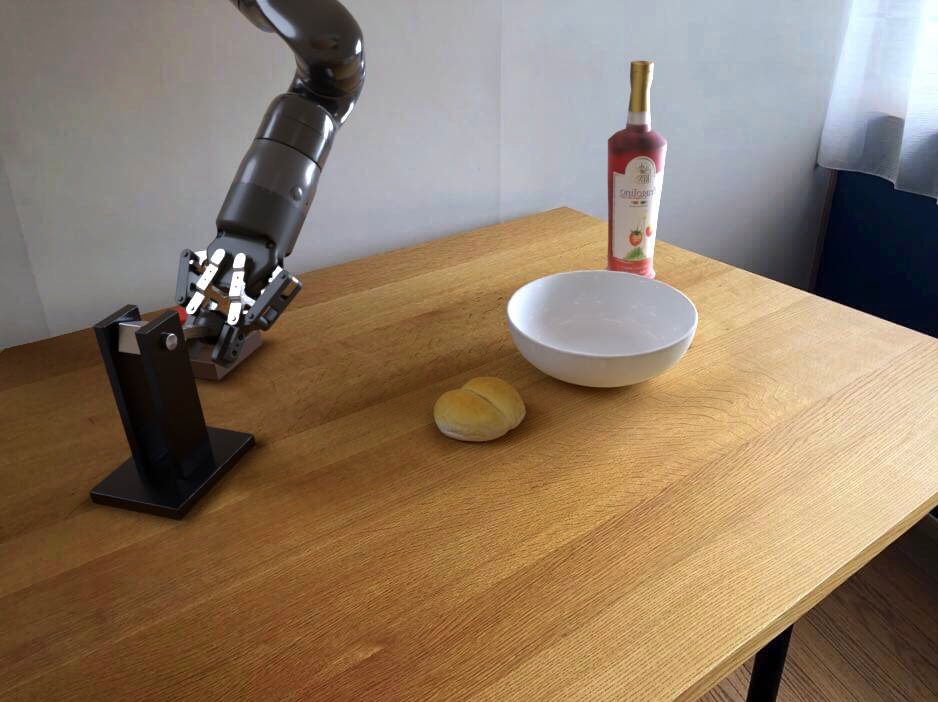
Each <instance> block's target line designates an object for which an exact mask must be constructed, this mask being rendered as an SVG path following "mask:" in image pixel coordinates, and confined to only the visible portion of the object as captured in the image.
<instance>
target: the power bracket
mask: <svg viewBox="0 0 938 702" xmlns="http://www.w3.org/2000/svg"><path fill="white" fill-rule="evenodd" d="M135 321H143V320H142V317H141V312H140V310H139V306H138V305H137V304H130V303H127V304H126V305H124V306H123V307H121V308H119V309H118V310H116V311H115V312H113V313H111V314H109V315H108V316H106V317H104V318H103V319H101V320H100V321H99V322H97V323H95V324H93V325H92V329H93V332H94V335H95V339H96V343H97V345H98V349H99V352H100V355H101V358H102V361H103V364H104V365H103V366H104V368H105V371H106V375H107V378H108V381H109V385H110V388H111V391H112V395H113V398H114V401H115V405H116V408H117V410H118V414H119V417H120V421H121V424H122V428H123V430H124V433H125V436H126V441H127V443H128V447H129V450H130V453H131V456H129V457H128V458H127V459H126V460H125V461H124V462H123V463H121V464H120V465H119V466H117V468H115V469H114V470H113V471H111V472H110V473H109V474H108V475H106V477H104V478H103V479H102V480H101V481H100V482H98V483H97V484H96V485H95V486H94V487H93V488H91V489H90V490H89V491H88V494H89V496H90V499H91V502H92V503H93V504H94V503H95V504H99V505H103V506H109V507H114V508H117V509H118V508H119V509H124V510H128V511H134V512H138V513H144V514H147V515H148V514H149V515H153V516H158V517H162V518H167V519H172V520H178V521H181V520H183V518H184V517H185V516H186V515H188V513H189V512H190V511H191V510H193V508H194V507H195V506H196V505H197V504H198V503H199V502H200V501H201V500H203V498H204V497H205V496H206V495H207V494H208V493H209V492H210V491H211V490H212V489H213V488H214V487H215V486H216V485H217V484H218V483H219V482H221V480H222V479H223V478H224V477H225V476H226V475H227V474H228V473H229V472H230V471H231V470H232V469H233V468H234V467H235V466H236V465H237V464H238V463H239V462H240V461H241V460H242V459H243V458H244V457H245V456H246V455H247V454H248V453H249V452H250V451H251V450H252V448H254V447H255V446H256V445H257V444H256V443H257V441H256V437H255V434H254V433H249V432H243V431H238V430H232V429H226V428H220V427H214V426H209V425H207V423H206V420H205V416H204V410H203V406H202V403H201V399H200V395H199V390H198V387H197V383H196V382H197V381H196V377H194V374H193V370H192V366H191V361H190V357H189V353H188V349H187V345H186V341H185V337H184V333H183V329H182V325H181V321H180V316H179V312H178V311H175V310H174V309H167V310H165V311H163V312H162V313H161V314H160V315H158V316H156V317H155V318H153V319H152V320H150V321H148V322H149V323H148V324H146V325H145V326H143V327H142V328H140V329H139V330H137V331H136V332H134V333H135V337H136V340H137V344H138V347H139V351H140V354H141V355H138V354H132V353H125V352H119V323H124V322H135Z"/></svg>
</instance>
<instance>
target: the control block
mask: <svg viewBox="0 0 938 702" xmlns="http://www.w3.org/2000/svg"><path fill="white" fill-rule="evenodd" d="M262 345H263V340H262V335H261V330H255V331H252V332H251V333H250V334H248V335H247V337H246V340H245V342H244V344H243V347H242V349H241V352H240V353H239V357H238V359H237V360H236V362H235V363H234V364H232V366H231V367H230V368H224V367H221V366H219V365H217V364H215V363H213V362H212V361H211V356H212V353H213V351H214V348H215V347H209V346H206V345H204V344H203V346H202V348H201V351H200V353H199V355H198V357H197V358H196V359H192V358H190V361H191V366H192V370H193V374H194V378H197V379H204V380H208V381H209V380H210V381H215V382H218V381H220V380H222V378H224V377H225V376H226V375H228V373H230V372H231V371H232V370H233V369H234V368H235V367H237V366H238V365H239V364H240V363H241V362H242V361H244V360H245V359H246V358H247V357H249V356H250V355H251V354H252V353H253V352H254V351H256V350H257V349H258V348H259V347H260V346H262Z"/></svg>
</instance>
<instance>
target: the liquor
mask: <svg viewBox="0 0 938 702" xmlns="http://www.w3.org/2000/svg"><path fill="white" fill-rule="evenodd" d="M629 70H630V71H629V82H630V94H629V101H628V102H629V103H628V108H627V117H626V122H625V123H626V124H625V128H623V129H621V130H617V131H616V132H615V133H613V135H611V136H610V137H609V138H608V139H607V265H606V267H605V268H604V270H603V271H617V272H625V273H631V274H636V275H641V276H645V277H648V278H652V279H655V276H656V272H655V270H654V268H653V265H654V264H653V263H654V252H655V245H656V243H655V242H656V233H657V225H658V216H659V209H660V203H661V196H662V189H663V181H664V171H665V163H666V155H667V147H668V140H667V139H666V138H665V137H664V136H662V135H661V133H660V132H657V131H655V130H653V129H651V98H650V93H651V91H650V90H651V86H652V81H653V75H654V62H653V61H649V60H634V61H633V60H632V61H631V62H630V69H629Z"/></svg>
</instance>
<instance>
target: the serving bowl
mask: <svg viewBox="0 0 938 702" xmlns="http://www.w3.org/2000/svg"><path fill="white" fill-rule="evenodd" d="M505 315H506V322H507V327H508V331H509V334H510V337H511V340H512V341H513V344H514V345H515V347H516V349H517V350H518V351H519V353H520V354H521V356H522V357H523V358H524V359H525V360H526V361H527V362H529V363H530V364H531V365H532V366H534V368H536V369H537V370H539V371H540V372H543V373H544V374H546V375H548V376H550V377H552V378H555V379H556V380H560V381H563V382H566V383H569V384H573V385H578V386H583V387H593V388H618V387H625V386H631V385H636V384H640V383H644V382H647V381H650V380H651V379H654V378H657V377H658V376H660V375H662V374H664V373H666V372H667V371H668V370H670V369H671V368H673V366H675V365H677V363H678V362H679V361H680V360H681V359H682V358H683V357H684V355H685V354H686V352H688V349H689V348H690V346H691V344H692V342H693V339H694V336H695V333H696V331H697V326H698V322H699V314H698V311H697V308H696V307H695V305H694V303H693V302H692V301H691V299H690V298H689V297H688V296H686V295H685V294H684V293H682V291H680V290H678V289H677V288H676V287H673V286H672V285H669V284H668V283H665V282H663V281H660V280H657V279H655V278H653V279H652V278H648V277H645V276H641V275H636V274H631V273H625V272H617V271H604V270H603V269H602V270H601V269H600V270H598V269H590V270H589V269H588V270H587V269H585V270H573V271H572V270H571V271H566V272H560V273H554V274H550V275H545V276H542V277H540V278H536V279H535V280H532V281H530V282H527V283H526V284H524V285H522V286H521V287H519V288H518V289H517V290H516V291H514V292H513V294H512V295H511V296H510V298H509V299H508V300H507V303H506V308H505Z"/></svg>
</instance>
